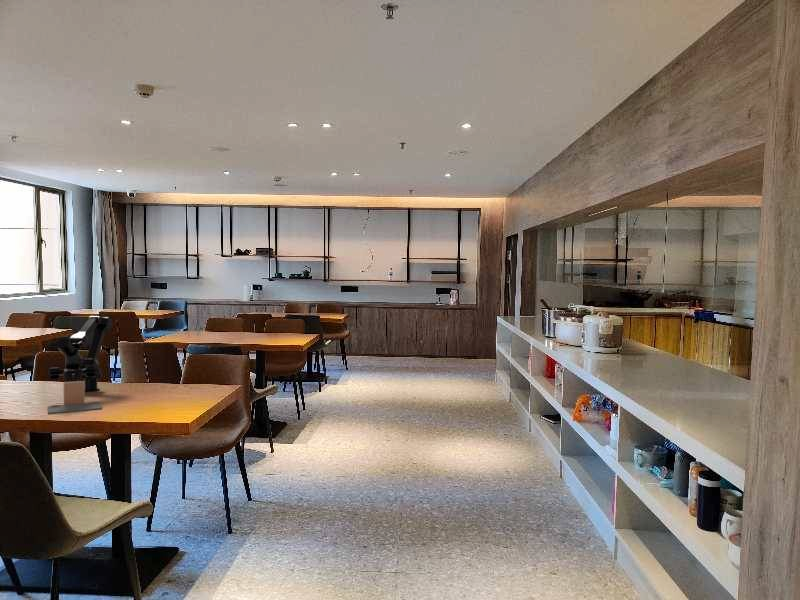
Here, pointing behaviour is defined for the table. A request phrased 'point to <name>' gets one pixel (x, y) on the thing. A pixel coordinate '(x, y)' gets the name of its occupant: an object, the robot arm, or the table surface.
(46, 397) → the table surface
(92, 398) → the table surface
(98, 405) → the mat
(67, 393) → the glazed tile
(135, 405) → the table surface
